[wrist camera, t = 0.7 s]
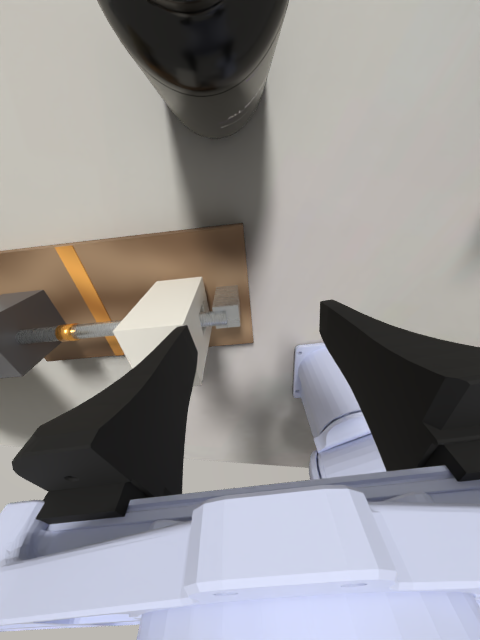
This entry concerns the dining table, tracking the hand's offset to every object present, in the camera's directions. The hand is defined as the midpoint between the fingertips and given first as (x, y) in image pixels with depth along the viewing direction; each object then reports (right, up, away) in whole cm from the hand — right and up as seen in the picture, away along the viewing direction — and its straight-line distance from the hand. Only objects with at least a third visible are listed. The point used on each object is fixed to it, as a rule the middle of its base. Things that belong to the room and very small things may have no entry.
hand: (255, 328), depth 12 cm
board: (-12, +3, +10) cm, 16 cm away
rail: (-11, +2, +9) cm, 14 cm away
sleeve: (-6, +2, +8) cm, 10 cm away
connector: (-21, +1, +9) cm, 23 cm away
